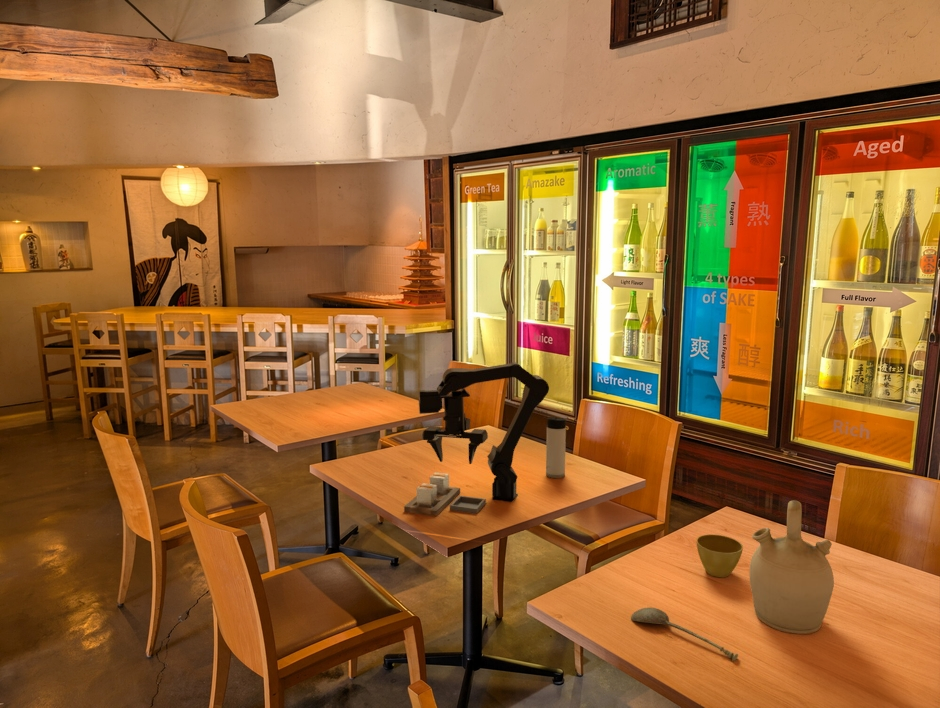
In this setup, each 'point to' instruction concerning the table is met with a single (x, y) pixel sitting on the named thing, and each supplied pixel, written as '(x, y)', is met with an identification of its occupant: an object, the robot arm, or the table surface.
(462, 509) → the grey tray
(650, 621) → the soupspoon
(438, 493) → the block
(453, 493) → the grey flat frame
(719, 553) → the flower pot
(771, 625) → the jug
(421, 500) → the block
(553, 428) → the travel mug
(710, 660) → the table surface
